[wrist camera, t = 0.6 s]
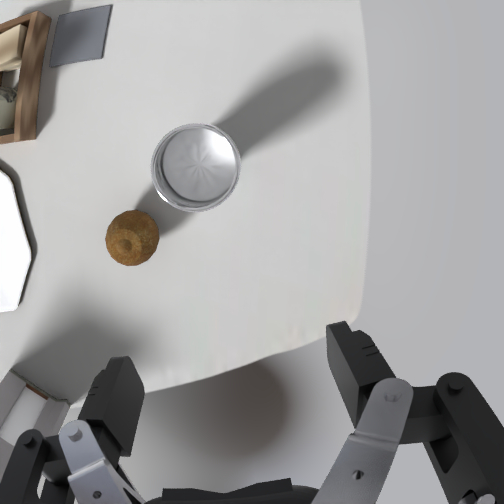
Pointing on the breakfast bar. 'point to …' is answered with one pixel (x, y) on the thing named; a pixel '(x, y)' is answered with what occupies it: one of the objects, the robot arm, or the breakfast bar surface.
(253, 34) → the breakfast bar surface
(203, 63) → the breakfast bar surface
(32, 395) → the cabinet
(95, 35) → the mat
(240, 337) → the breakfast bar surface
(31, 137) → the wooden tray
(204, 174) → the beer glass
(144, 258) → the fruit
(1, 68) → the offcut
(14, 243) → the plate
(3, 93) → the box
